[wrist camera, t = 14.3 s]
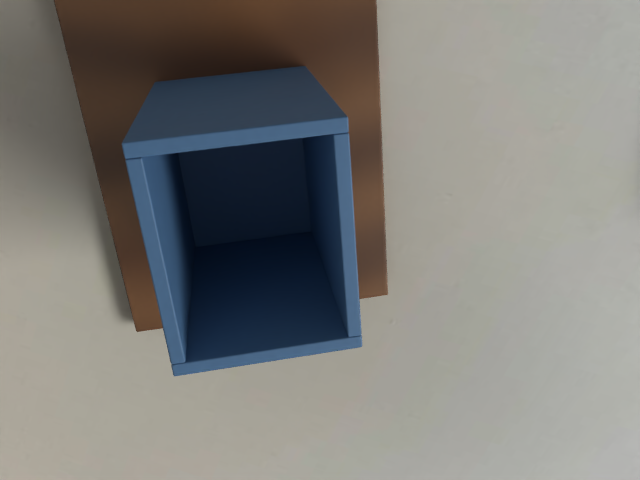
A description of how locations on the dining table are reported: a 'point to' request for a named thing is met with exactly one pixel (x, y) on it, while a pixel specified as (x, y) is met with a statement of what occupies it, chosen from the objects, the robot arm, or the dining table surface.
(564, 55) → the dining table surface
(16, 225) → the dining table surface
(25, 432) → the dining table surface
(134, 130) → the blue bin
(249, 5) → the brown wooden flat board
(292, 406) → the dining table surface
